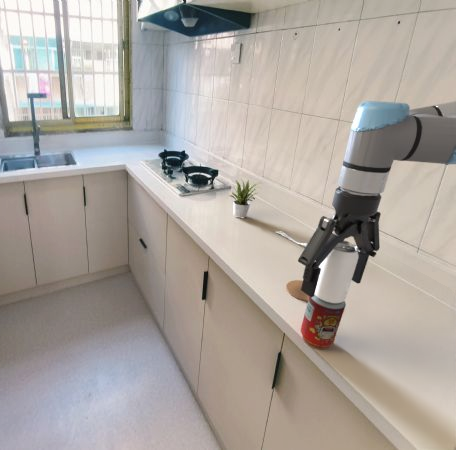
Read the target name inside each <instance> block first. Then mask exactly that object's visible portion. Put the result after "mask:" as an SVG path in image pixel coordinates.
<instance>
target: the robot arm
mask: <svg viewBox="0 0 456 450" xmlns="http://www.w3.org/2000/svg"><path fill="white" fill-rule="evenodd" d="M394 161H400V162H416V163H429V164H442V165H445V166H449V165H456V100H454V101H449V102H445V103H439V104H433V105H429V106H423V107H417V108H412V109H410V105H409V104H408V103H405V102H397V101H396V102H394V101H379V100H368V101H364V102H362V103H361V104H359V105H358V107H357V110H356V113H355V115H354V118H353V121H352V124H351V126H350V132H349V136H348V140H347V144H346V150H345V153H344V158H343V161H342V164H341V165H342V166H341V170H340V173H339V177H338V181H337V186H338V187H336V188H335V191H334V195H333V199H332V203H331V205H332V207H333V209H334V214H333V216H332V217H327V216H325V215H322V216H321V217H320V218H319V221H318V224H317V227H316V229H315V231H314V233H313V234H312V235H311V238H310V239H309V241H308V244H307V246H306V247H305V246H304V247H305V248H304V249H303V251H302V252H301V254H300V256H299V258H298V260H297V261H298V263H300V264H302V265H303V266H304V270H303V275H302V279H303V280H302V281H303V283H302V287H301V291H303V292H304V293H306V294H307V295H308V296H310V297H314V294H315V290H316V286H317V283H318V279H319V275H320V271H321V268H319V266H320V264H321V263H322V262H323V261H324V260H325V258H326V257H327V256H328V255H329V254H330V252H331V251H332V250H333V249H334V248H335V246H336V245H337V244H338V243H341V242H343V241H345V240H346V239H349V238H351V237H352V238H353V240H354V243H355V245H356V246H357V247H358V249H359V250H358V256H359V257H358V261H357V264H356V268H355V271H354V274H353V277H352V280H351V282H354V283H355V284H361V282H362V279H363V276H364V273H365V270H366V266H367V264H368V261H369V257H372V258H375V257H376V255H377V252H378V251H379V250H380V246H381V245H380V223H379V222H380V219H381V212H380V211H378V210H379V206H380V203H381V200H382V195H381V194H382V193H384V191H385V188H386V184H387V182H388V178H389V175H390V173H391V169H392V166H393V163H394Z"/></svg>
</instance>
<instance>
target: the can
mask: <svg viewBox="0 0 456 450" xmlns="http://www.w3.org/2000/svg"><path fill="white" fill-rule="evenodd" d="M358 251H359V249H358V247H357V245H356V244H354V243H352V242H350V241H347V240H344V241H343V242H341V243H338V244H337V245H336V246H335V248H334V249H333V250H332V251H331V252H330V254H329V255H328V256H327V257H326V258H325V260H324V261H323V262H322V263H321V264H320V266H319V268H321V271H320V275H319V279H318V283H317V286H316V290H315V296H316V297H317V298H319V299H320V300H322V301H324V302H327V303H332V304H338V303H341V302H343V301H346V298H347V295H348V292H349V289H350V286H351V283H352V277H353V274H354V271H355V268H356V264H357V261H358V257H359V256H358Z"/></svg>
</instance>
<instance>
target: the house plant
mask: <svg viewBox="0 0 456 450" xmlns="http://www.w3.org/2000/svg"><path fill="white" fill-rule="evenodd" d="M240 180H241V182H242V186H241V184H240V183H239V181H238V180H235V182H236V186H237V188H235V187H233V188H234V190H235V192H236V193H234V192H233V191H229V192H230V193H231V194H232V195H228V197H231V198H233V199H234V200H233V201H232V206H233V207H232V209H233V210H232V211H233V216H234V215H235V216H238V217H246V218H247V215H248V213H249V209H250V206H251V202H252V203H254V201H255V200H256V199H255V197H254V196H255V195H257V192H254V191H256V190H257V189H262V188H261V187H259V186H258V185H260V184H261V182H257V183H254V184H253V185H251V184H250V181H249V180H247V181H246V183H245V182H244V180H243V179H242V178H240ZM227 184H228V185H231V186H232V184H231V183H228V182H227ZM256 186H258V187H256Z"/></svg>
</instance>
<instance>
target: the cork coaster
mask: <svg viewBox="0 0 456 450" xmlns="http://www.w3.org/2000/svg"><path fill="white" fill-rule="evenodd" d="M302 283H303V280H301V279H300V280H298V279H296V280H291V281H288V282H287V283H286V286H285V289H286V292H287V293H288V294H289V295H291V296H292V297H293V298H295V299H297V300H299V301H303V302H307V303H308V300H309V296H308V295H307V294H306V293H304V292H303V291H301V287H302Z"/></svg>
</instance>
